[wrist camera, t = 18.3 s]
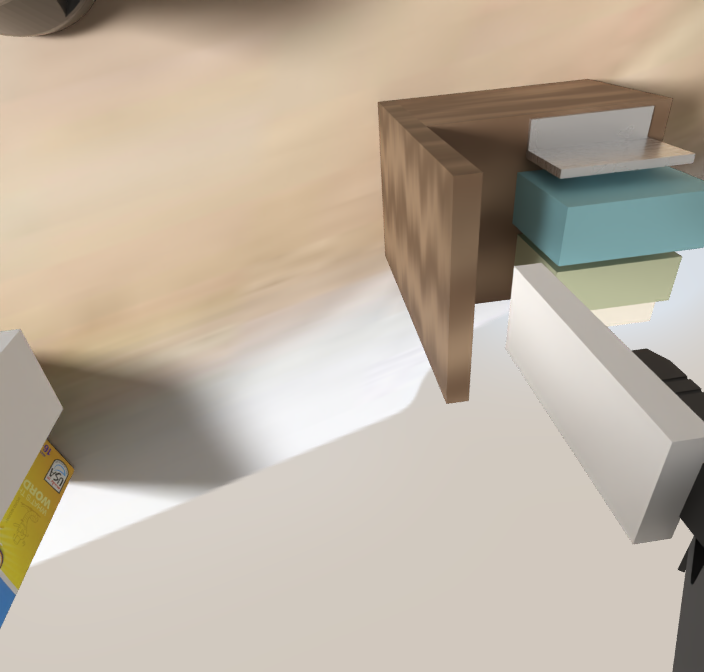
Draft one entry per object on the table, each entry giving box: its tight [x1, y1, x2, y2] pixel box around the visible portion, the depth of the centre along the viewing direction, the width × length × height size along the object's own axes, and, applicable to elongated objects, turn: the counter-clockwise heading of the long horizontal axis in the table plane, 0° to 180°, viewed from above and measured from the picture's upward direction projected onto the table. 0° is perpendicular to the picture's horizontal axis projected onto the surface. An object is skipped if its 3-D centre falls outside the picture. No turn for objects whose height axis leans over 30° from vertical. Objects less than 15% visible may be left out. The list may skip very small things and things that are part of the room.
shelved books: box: [513, 234, 682, 327], centre depth 39 cm, size 6×9×7 cm, turn 95°
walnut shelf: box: [378, 79, 673, 404], centre depth 39 cm, size 15×20×24 cm
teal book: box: [512, 166, 704, 266], centre depth 35 cm, size 4×10×8 cm, turn 95°
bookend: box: [526, 105, 696, 179], centre depth 34 cm, size 3×9×6 cm, turn 95°
